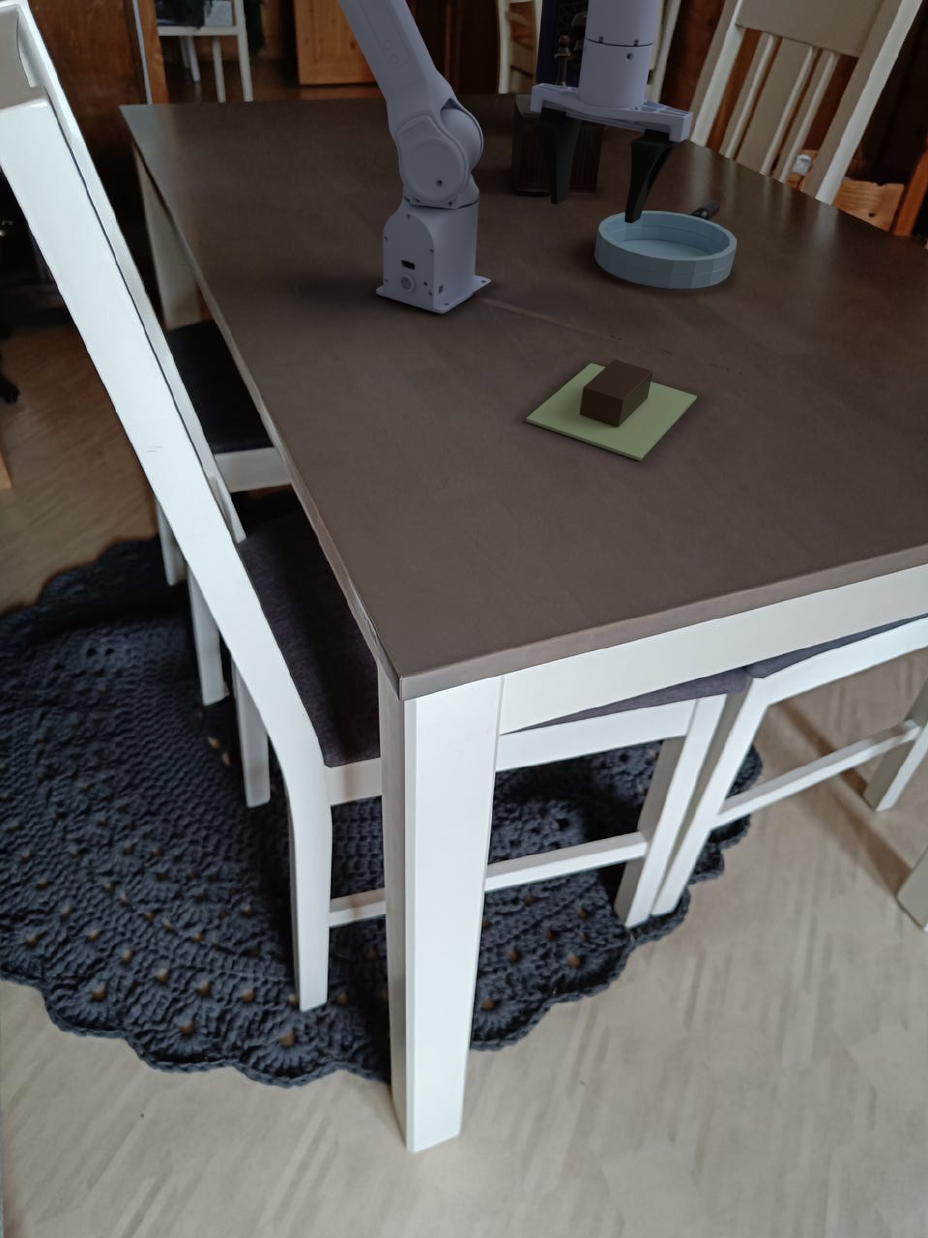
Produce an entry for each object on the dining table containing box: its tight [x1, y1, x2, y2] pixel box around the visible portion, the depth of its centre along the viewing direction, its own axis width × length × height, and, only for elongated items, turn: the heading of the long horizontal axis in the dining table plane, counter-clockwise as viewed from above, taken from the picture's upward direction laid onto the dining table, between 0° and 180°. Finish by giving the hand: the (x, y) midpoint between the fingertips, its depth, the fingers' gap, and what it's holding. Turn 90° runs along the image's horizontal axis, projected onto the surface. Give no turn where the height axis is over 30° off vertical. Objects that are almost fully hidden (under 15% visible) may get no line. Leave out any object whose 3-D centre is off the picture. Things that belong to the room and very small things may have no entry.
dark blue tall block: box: [534, 0, 611, 132], centre depth 128 cm, size 14×12×30 cm
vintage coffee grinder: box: [509, 11, 605, 197], centre depth 114 cm, size 16×11×18 cm
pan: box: [593, 210, 738, 290], centre depth 97 cm, size 15×15×4 cm
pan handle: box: [689, 199, 721, 221], centre depth 104 cm, size 8×2×2 cm, turn 148°
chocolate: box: [579, 359, 654, 427], centre depth 74 cm, size 6×4×2 cm, turn 148°
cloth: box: [525, 362, 698, 462], centre depth 74 cm, size 12×10×1 cm
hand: (594, 210), depth 84 cm, fingers open, 7 cm apart
